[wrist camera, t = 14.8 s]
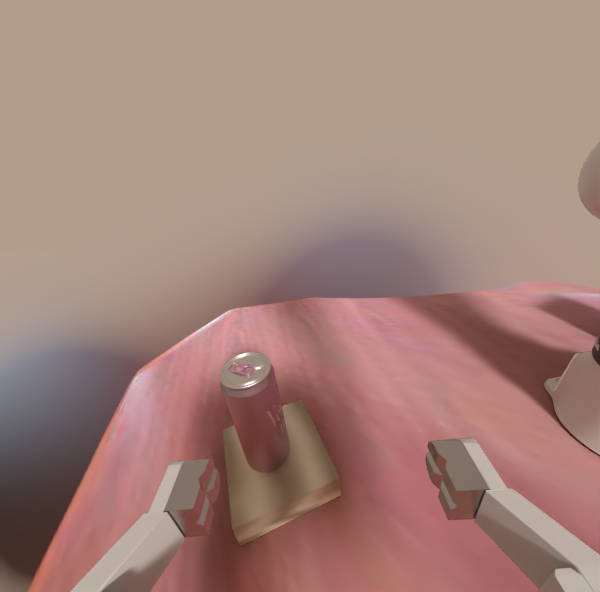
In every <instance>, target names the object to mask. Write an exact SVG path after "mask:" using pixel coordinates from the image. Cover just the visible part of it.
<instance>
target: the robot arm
mask: <svg viewBox="0 0 600 592" xmlns="http://www.w3.org/2000/svg"><path fill="white" fill-rule="evenodd" d="M578 191H579V196H580V198H581V201H582V203H583V204H584V206H585V207H586V209H587V210H588V211H589V212H590V213H591V214H592V215H594V216H595V217H597V218H599V219H600V142H599V143H598V144H597V146H596V147H595V148H594V149H593V150H592V152H591V153H590V154H589V156H588V157H587V159H586V161H585V163H584V164H583V167H582V169H581V172H580V176H579V181H578ZM544 387H545V389H546V390H547V392H548V393H549V394H550V396H551V397H552V399H553V405H554V410H555V412H556V415H557V416H558V418H559V420H560V421H561V423H562V424H563V425H564V426H565V427H566V429H567V430H568V431H569V432H570V433H571V434H572V435H574V436H575V437H576V438H577V439H578V440H579V441H581V442H582V443H583V444H584V445H586V446H587V447H588V448H590V449H591V450H593V451H594V452H596V453H597V454H599V455H600V334H599V335H598V337H597V338H596V340H595V345H594V347H593V349H592V351H585V352H582V353H576V354H575V355H574V356H573V358H572V359H571V361H570V363H569V364H568V366H567V368H566V369H565V371H564V373H563V375H562V376H560V377H555V378H551V379H547V380H546V382H545V383H544ZM428 449H429V451H430V452H428V453H427V454H426V466H427V470H428V473H429V476H430V479H431V481H432V483H433V484H434V485H435V486H436V487H437V488H438V489H440V491H439V496H438V498H439V500H440V502H441V505H442V507H443V509H444V512H445V514H446V516H447V519H448V520H466V519H475V520H474V521H475V522H476V523H477V524H478V525H479V526H480V527H481V529H482V530H483V531H484V532H485V533H486V534H487V535H488V536H489V537H490V538H491V539H492V540H493V541H494V542H495V543H496V544H497V545H498V546H499V547H500V548H501V549H502V551H503V552H504V553H505V554H506V555H507V556H508V557H509V558H510V559H511V560H512V561H513V562H514V563H515V564H516V565H517V566H518V567H519V568H520V569H521V570H522V571H523V572H524V574H525V575H526V576H527V577H528V578H529V579H530V580H531V581H532V582H533V583H534V584H535V585H536V586H537V587H538V588H539V590H538V591H537V592H600V555H599V554H598V553H596V552H595V551H594V550H592V549H591V548H590V547H588V546H587V545H586V544H584V543H583V542H582V541H581V540H579V539H578V538H577V537H575V536H574V535H573V534H571V533H570V532H569V531H567V530H566V529H565V528H563V527H562V526H561V525H560V524H558V523H557V522H556V521H554V520H553V519H552V518H550V517H549V516H548V515H546V514H545V513H544V512H542V511H541V510H540V509H539V508H537V507H536V506H535V505H533V504H532V503H531V502H529V501H528V500H527V499H525V498H524V497H523V496H521V495H520V494H519V493H518V492H516V491H515V490H514V489H512V488H509V489H507V487H506V485H505V484H504V482H503V481H502V479H501V478H500V476H499V475H498V473H497V472H496V470H495V469H494V467H493V466H492V464H491V463H490V461H489V459H488V458H487V456H486V455H485V453H484V452H483V450H482V449H481V447H480V446H479V444H478V443H477V441H476V440H475V439H473V438H459V439H446V440H436V441H430V442H428ZM214 465H215V462H214V460H213V458H207V459H194V460H179V461H172V462H171V464H170V465H169V466H168V468H167V470H166V473H165V475H164V477H163V479H162V482H161V484H160V486H159V489H158V491H157V493H156V496H155V498H154V500H153V502H152V505H151V507H150V509H149V512H148V513H144V514H143V515H142V516H141V517H140V518H139V519H138V520H137V521H136V522H135V523H134V524H133V525H132V527H131V528H130V529H129V530H128V531H127V532H126V533H125V534H124V535H123V536H122V537H121V538H120V539H119V540H118V541H117V543H116V544H115V545H114V546H113V547H112V548H111V549H110V550H109V551H108V552H107V553H106V554H105V555H104V556H103V557H102V558H101V560H100V561H99V562H98V563H97V564H96V565H95V566H94V567H93V568H92V569H91V570H90V571H89V572H88V573H87V574H86V576H85V577H84V578H83V579H82V580H81V581H80V582H79V583H78V584H77V585H76V586H75V587H74V588H73V589H72V590H71V591H70V592H150V591H151V589H152V588H153V586H154V585H155V583H156V582H157V580H158V579H159V577H160V576H161V574H162V573H163V571H164V570H165V569H166V567H167V566H168V564H169V563H170V561H171V560H172V558H173V557H174V555H175V554H176V552H177V551H178V549H179V548H180V546H181V545H182V543H183V542H184V541H185V537H194V536H204V535H209V532H210V528H211V524H212V520H213V516H214V510H213V507H212V505H213V503H214V502H215V501H216V500H217V498H218V495H219V490H220V481H221V479H220V473H219V471H218V470H217V469H216V468H214Z"/></svg>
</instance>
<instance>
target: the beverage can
mask: <svg viewBox="0 0 600 592" xmlns="http://www.w3.org/2000/svg"><path fill="white" fill-rule="evenodd" d="M220 386H221V389H222V392H223V395H224V398H225V401H226V404H227V406H228V409H229V412H230V415H231V418H232V421H233V423H234V426H235V429H236V432H237V435H238V438H239V440H240V443H241V446H242V449H243V452H244V455H245V457H246V460H247V463H248V464H249V466H250V467H251V468H252V469H253V470H255V471H257V472H262V473H267V472H271V471H274V470H276V469H277V468H279V467H280V466H281V465H282V464H283V463H284V462H285V460H286V459H287V457H288V454H289V451H290V442H289V437H288V433H287V428H286V424H285V419H284V414H283V410H282V405H281V400H280V396H279V391H278V386H277V382H276V377H275V372H274V368H273V366H272V364H271V362H270V360H269V358H268V357H267V356H266V355H264V354H262V353H259V352H246V353H242V354H239V355H237V356H235V357H233V358H231V359H230V360H229V361H227V362H226V363H225V364H224V366H223V367H222V369H221V371H220Z"/></svg>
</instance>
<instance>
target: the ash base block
mask: <svg viewBox="0 0 600 592" xmlns="http://www.w3.org/2000/svg"><path fill="white" fill-rule="evenodd" d="M282 410H283V414H284V419H285V424H286V428H287V433H288V437H289V442H290V451H289V454H288V457H287V459H286V460H285V462H284V463H283V464H282V465H281V466H280V467H279V468H277V469H276V470H274V471H271V472H267V473H262V472H257V471H255V470H253V469H252V468H251V467H250V466H249V464H248V463H247V460H246V457H245V455H244V452H243V449H242V446H241V443H240V440H239V438H238V435H237V432H236V429H235V426H234V425H232V426H230V427H227V428H224V429H222V435H223V445H224V455H225V465H226V475H227V485H228V495H229V505H230V514H231V524H232V531H233V533H234V535H235V537H236V539H237V541H238V543H239V545H240V546H242V545H244V544H246V543H248V542H250V541H252V540H254V539H256V538H258V537H260V536H262V535H264V534H266V533H268V532H270V531H272V530H274V529H276V528H278V527H280V526H282V525H283V524H285V523H287V522H289V521H291V520H293V519H295V518H297V517H299V516H301V515H303V514H305V513H307V512H309V511H311V510H313V509H315V508H317V507H319V506H321V505H323V504H325V503H327V502H328V501H330V500H332V499H334V498H336V497H338V496H340V495H341V486H340V477H339V475H338V473H337V471H336V468H335V466H334V464H333V462H332V460H331V458H330V456H329V454H328V452H327V450H326V448H325V445H324V443H323V441H322V439H321V437H320V435H319V433H318V431H317V429H316V427H315V425H314V422H313V420H312V418H311V416H310V414H309V412H308V410H307V408H306V406H305V404H304V402H303V400H302V399H300V400H297V401H294V402H292V403H289V404H287V405H284V406H282Z"/></svg>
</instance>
